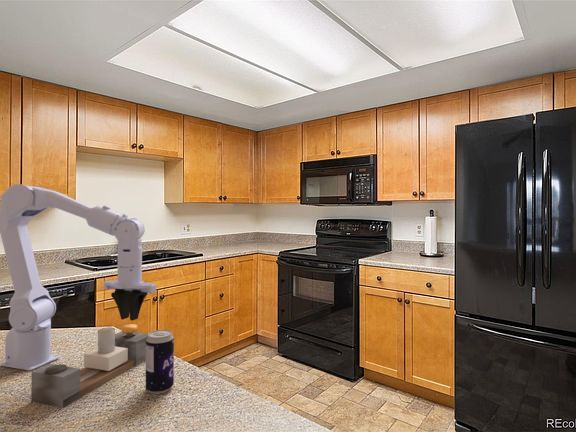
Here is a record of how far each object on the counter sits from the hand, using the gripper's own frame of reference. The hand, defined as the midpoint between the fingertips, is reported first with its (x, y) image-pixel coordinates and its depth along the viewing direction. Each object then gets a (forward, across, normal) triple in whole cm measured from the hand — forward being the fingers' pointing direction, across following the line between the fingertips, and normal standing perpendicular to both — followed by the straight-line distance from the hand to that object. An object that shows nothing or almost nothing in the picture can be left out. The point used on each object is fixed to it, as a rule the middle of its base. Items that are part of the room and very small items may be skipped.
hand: (129, 318), depth 93 cm
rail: (+10, 0, -11) cm, 15 cm away
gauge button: (+5, 0, 0) cm, 5 cm away
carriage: (+8, 0, -8) cm, 11 cm away
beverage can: (+11, +17, -11) cm, 23 cm away
